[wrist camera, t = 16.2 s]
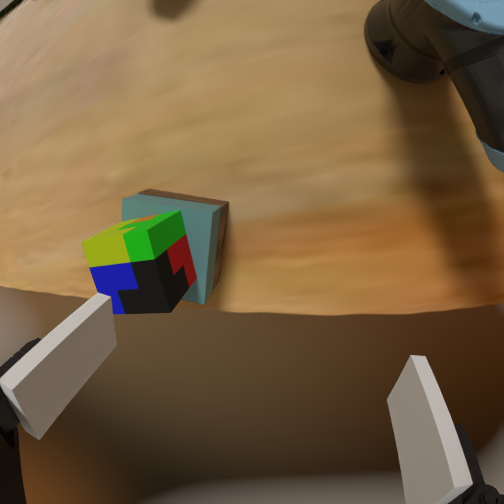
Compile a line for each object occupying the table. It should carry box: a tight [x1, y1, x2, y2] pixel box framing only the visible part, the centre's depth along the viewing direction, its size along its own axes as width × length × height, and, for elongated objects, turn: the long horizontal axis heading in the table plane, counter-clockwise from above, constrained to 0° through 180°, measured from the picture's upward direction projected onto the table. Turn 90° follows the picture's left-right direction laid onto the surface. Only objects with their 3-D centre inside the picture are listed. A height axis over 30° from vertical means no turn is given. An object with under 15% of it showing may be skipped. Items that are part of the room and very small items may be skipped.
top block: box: [122, 194, 221, 304], centre depth 45 cm, size 14×14×4 cm
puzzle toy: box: [82, 210, 197, 314], centre depth 39 cm, size 10×10×10 cm
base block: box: [138, 189, 229, 289], centre depth 50 cm, size 14×14×4 cm
